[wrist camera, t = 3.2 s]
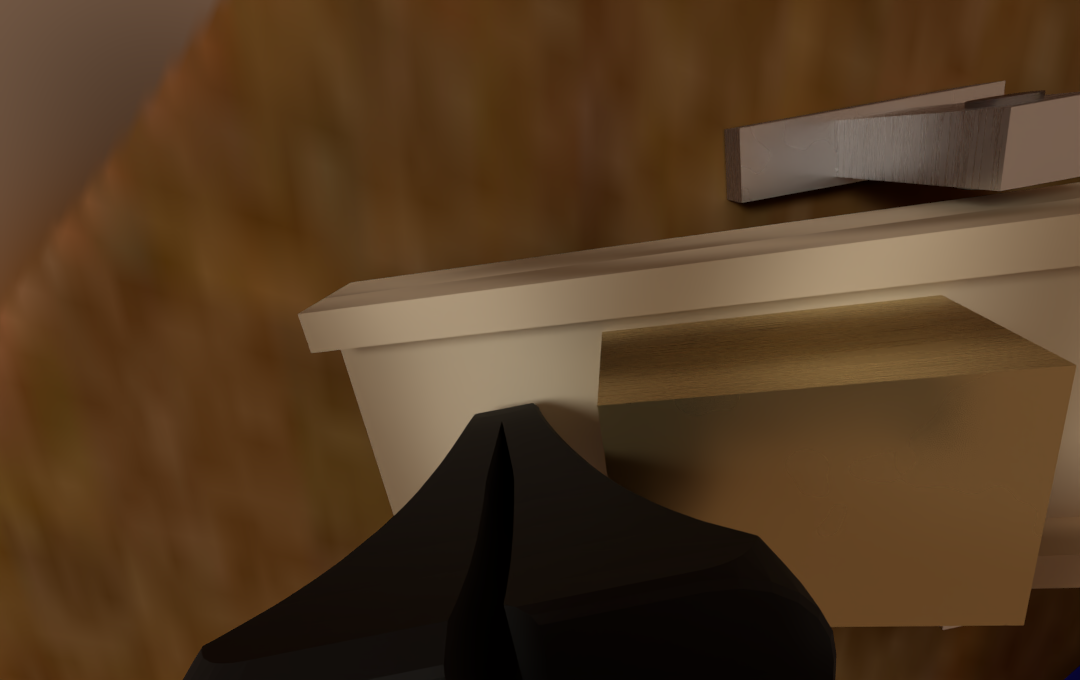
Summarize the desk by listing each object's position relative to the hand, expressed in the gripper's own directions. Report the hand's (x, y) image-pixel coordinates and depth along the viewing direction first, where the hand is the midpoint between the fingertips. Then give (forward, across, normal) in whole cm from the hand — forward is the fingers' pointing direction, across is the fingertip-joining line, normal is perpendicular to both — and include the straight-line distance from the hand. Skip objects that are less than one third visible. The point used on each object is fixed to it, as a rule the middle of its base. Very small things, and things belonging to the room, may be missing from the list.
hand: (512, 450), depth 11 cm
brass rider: (0, -5, 0) cm, 5 cm away
